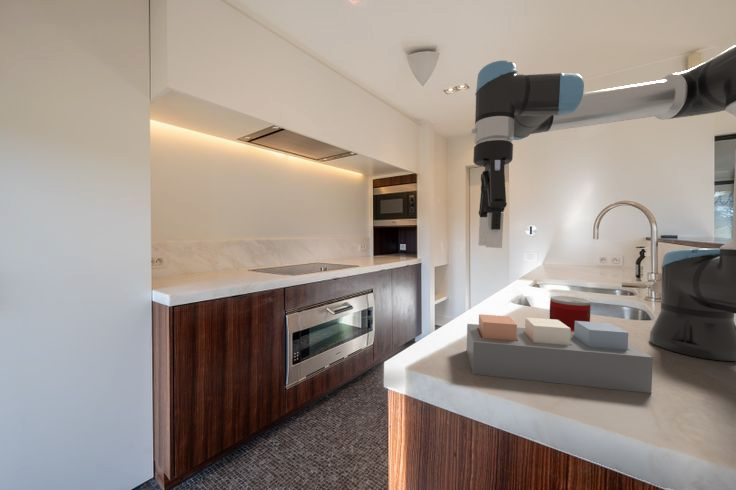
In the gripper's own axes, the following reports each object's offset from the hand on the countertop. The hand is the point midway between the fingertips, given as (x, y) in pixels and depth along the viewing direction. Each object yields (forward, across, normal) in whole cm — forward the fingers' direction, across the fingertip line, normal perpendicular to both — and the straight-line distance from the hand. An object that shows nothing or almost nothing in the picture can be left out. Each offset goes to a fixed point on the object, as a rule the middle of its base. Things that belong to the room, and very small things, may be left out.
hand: (488, 246), depth 64 cm
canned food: (+23, -13, +20) cm, 34 cm away
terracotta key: (+19, +3, +2) cm, 20 cm away
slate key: (+19, +3, +20) cm, 28 cm away
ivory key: (+19, +3, +11) cm, 22 cm away
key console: (+23, +3, +11) cm, 26 cm away
